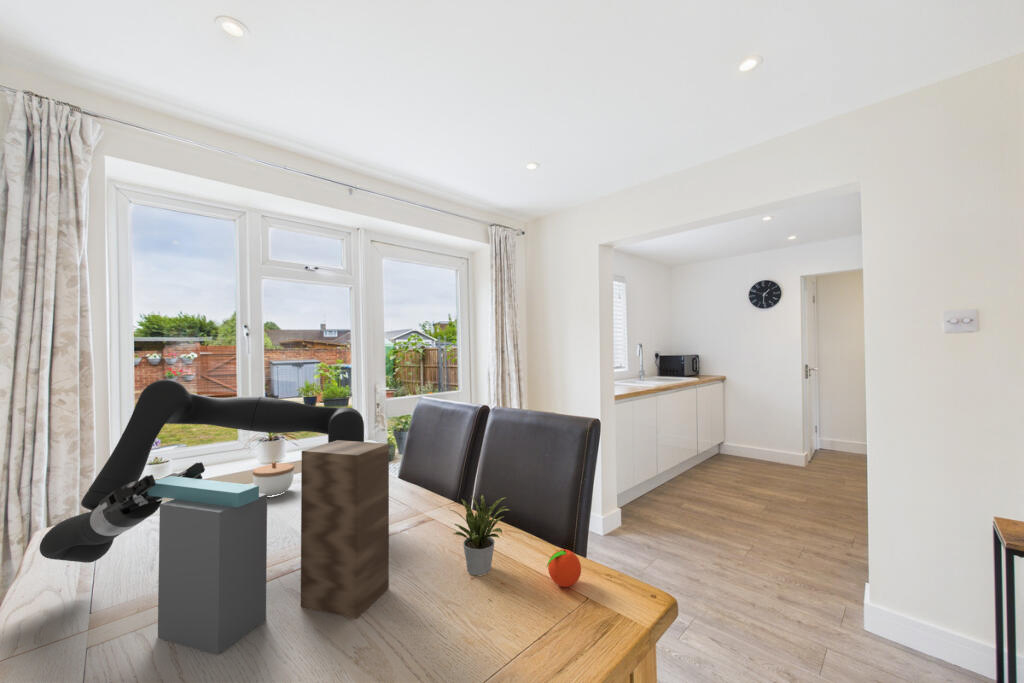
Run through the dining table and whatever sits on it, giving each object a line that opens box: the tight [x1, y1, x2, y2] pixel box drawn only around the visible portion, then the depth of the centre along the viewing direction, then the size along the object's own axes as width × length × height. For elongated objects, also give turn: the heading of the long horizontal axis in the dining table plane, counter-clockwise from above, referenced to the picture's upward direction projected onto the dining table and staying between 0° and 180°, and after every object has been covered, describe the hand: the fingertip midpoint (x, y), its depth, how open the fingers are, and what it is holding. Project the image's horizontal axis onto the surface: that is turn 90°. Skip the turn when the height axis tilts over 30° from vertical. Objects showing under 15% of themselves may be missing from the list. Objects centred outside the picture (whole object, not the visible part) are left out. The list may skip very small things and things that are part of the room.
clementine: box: [546, 548, 582, 588], centre depth 85 cm, size 8×7×7 cm
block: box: [148, 476, 259, 507], centre depth 74 cm, size 22×4×2 cm, turn 73°
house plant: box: [450, 494, 510, 576], centre depth 92 cm, size 14×14×16 cm
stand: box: [300, 440, 390, 620], centre depth 82 cm, size 13×10×30 cm
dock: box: [157, 493, 268, 656], centre depth 73 cm, size 14×9×23 cm, turn 73°
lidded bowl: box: [252, 461, 295, 496], centre depth 142 cm, size 13×13×11 cm
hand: (178, 472), depth 76 cm, fingers open, 8 cm apart
